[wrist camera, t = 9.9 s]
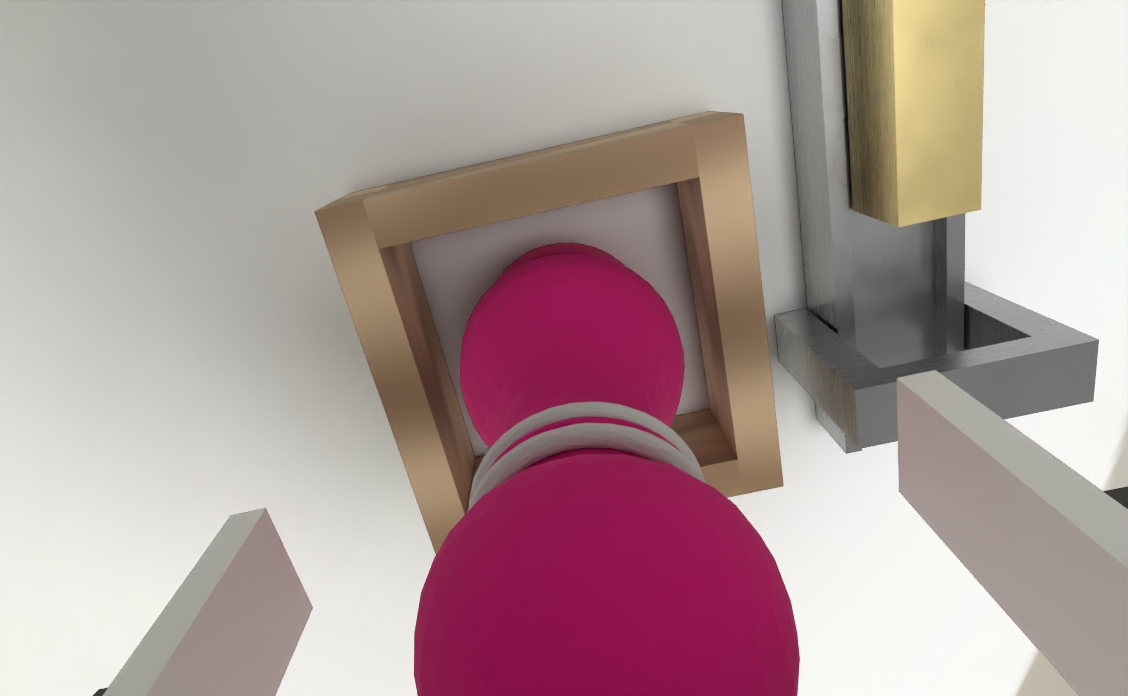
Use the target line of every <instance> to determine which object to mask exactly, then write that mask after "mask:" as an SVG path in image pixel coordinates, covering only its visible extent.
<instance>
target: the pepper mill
mask: <svg viewBox="0 0 1128 696" xmlns="http://www.w3.org/2000/svg"><path fill="white" fill-rule="evenodd" d="M683 377H684V354H683V348H682V344H681V340H680V336H679V333H678V330H677V327H676V324H675V321H674V318H673V316H672V314H671V313H670V311H669V309H668V307H667V305H666V304H665V302H664V300H663V299H662V298H661V296H660V295H659V294H658V293H657V292H656V291H655V289H654V288H653V287H652V286H651V285H650V284H649V283H648V282H647V281H645V280H644V279H643V278H642V277H640V276H639V275H638V274H636V273H635V272H634V271H632V270H631V269H629V268H627V267H625V266H624V265H623V264H622V263H621V262H620V261H618V260H617V259H615V258H614V257H613V256H611V255H610V254H608V253H606V252H604V251H602V250H599V249H597V248H594V247H591V246H587V245H583V244H575V243H558V244H552V245H547V246H543V247H540V248H537V249H535V250H532V251H530V252H528V253H526V254H525V255H523V256H521V257H520V258H518V259H517V260H516V261H514V262H513V263H512V264H511V265H510V266H509V267H508V268H507V269H506V270H505V271H504V272H503V273H502V274H501V276H500V277H499V278H498V280H497V282H496V283H495V284H494V285H493V286H492V287H491V288H490V289H489V290H488V291H487V292H486V293H485V294H484V295H483V297H482V298H481V299H480V301H479V302H478V304H477V305H476V306H475V308H474V310H473V312H472V314H471V316H470V318H469V320H468V322H467V325H466V328H465V332H464V335H463V338H462V347H461V355H460V384H461V389H462V394H463V399H464V402H465V404H466V407H467V409H468V412H469V414H470V417H471V419H472V422H473V425H474V427H475V429H476V430H477V432H478V434H479V435H480V437H481V439H482V440H483V441H484V443H485V444H486V445H487V446H488V447H489V448H490V450H489V451H488V452H487V454H486V455H485V456H484V458H483V460H482V462H481V464H480V466H479V468H478V470H477V472H476V474H475V477H474V479H473V483H472V488H471V493H470V499H469V508H468V511H467V513H466V514H465V515H464V516H463V517H462V518H461V519H460V521H459V522H458V523H457V524H456V525H455V526H454V527H453V528H452V529H451V530H450V531H449V533H448V535H447V537H446V538H445V540H444V542H443V544H442V546H441V547H440V549H439V551H438V553H437V554H436V556H435V558H434V560H433V563H432V566H431V568H430V571H429V574H428V576H427V579H426V581H425V584H424V587H423V589H422V592H421V597H420V603H419V609H418V615H417V621H416V627H415V635H414V677H415V683H416V688H417V694H418V696H797V691H798V676H799V661H800V657H799V647H798V637H797V630H796V625H795V620H794V615H793V610H792V605H791V601H790V598H789V595H788V593H787V590H786V588H785V585H784V582H783V580H782V577H781V575H780V572H779V569H778V567H777V564H776V561H775V559H774V557H773V556H772V554H771V553H770V551H769V549H768V548H767V546H766V544H765V543H764V541H763V540H762V538H761V536H760V535H759V533H758V532H757V531H756V530H755V528H754V527H753V526H752V525H751V523H750V522H749V521H748V520H747V519H746V517H745V516H744V515H743V514H742V512H741V511H740V510H739V509H738V508H737V506H736V505H735V504H733V503H732V502H731V501H730V500H729V499H727V498H726V497H725V496H724V495H723V494H722V493H720V492H719V491H718V490H717V489H716V488H714V487H712V486H710V485H708V484H706V482H705V480H704V477H703V474H702V471H701V468H700V465H699V463H698V461H697V459H696V458H695V456H694V454H693V452H692V451H691V450H690V448H689V447H688V446H687V444H686V443H685V442H684V440H683V439H682V438H681V437H680V436H679V435H678V434H677V433H676V432H675V431H674V430H672V429H671V428H670V425H671V423H672V421H673V419H674V417H675V414H676V411H677V408H678V405H679V401H680V396H681V392H682V387H683Z"/></svg>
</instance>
